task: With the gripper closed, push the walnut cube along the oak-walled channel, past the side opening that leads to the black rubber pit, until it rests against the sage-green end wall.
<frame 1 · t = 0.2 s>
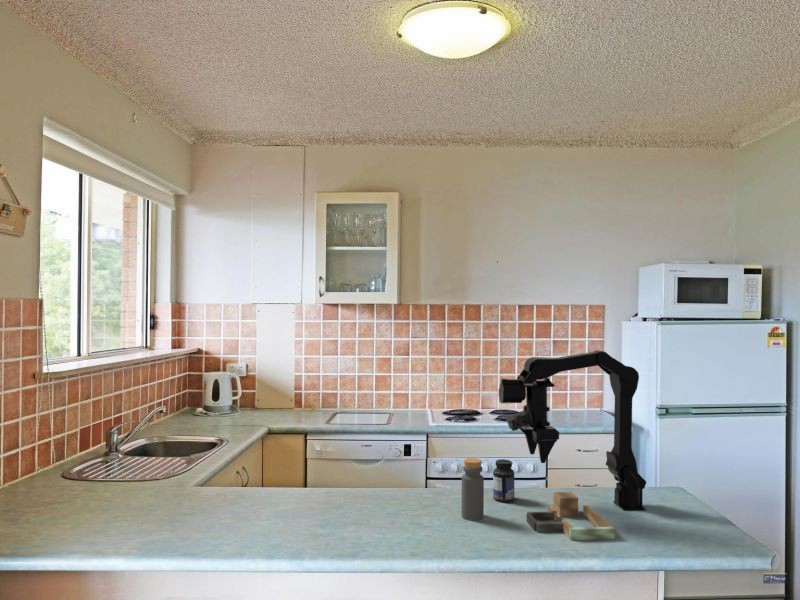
hand: (537, 458, 159), 14 cm above the counter, fingers open, 9 cm apart
bottle: (472, 517, 152), on the counter
pill bottle: (503, 499, 166), on the counter
walnut block: (565, 513, 155), on the counter
channel: (578, 525, 146), on the counter
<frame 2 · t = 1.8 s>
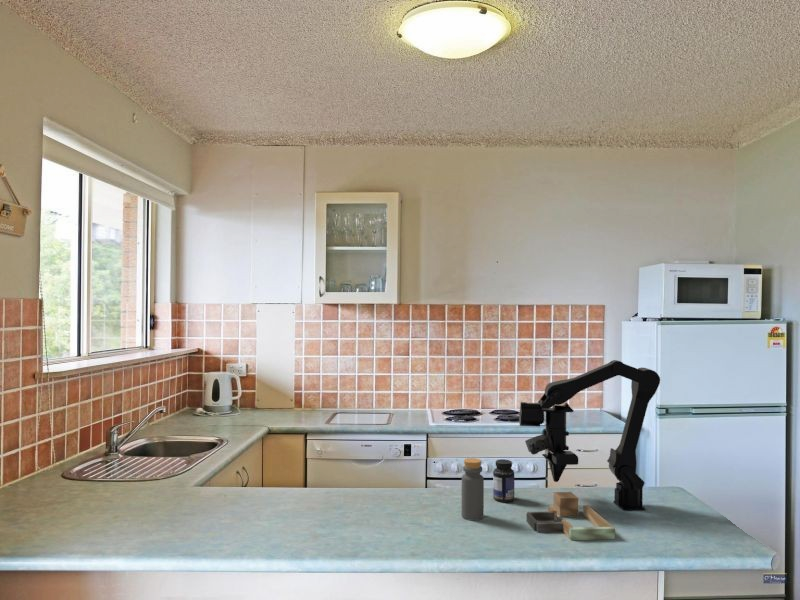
hand: (555, 481, 163), 6 cm above the counter, fingers closed
nothing on the counter moved.
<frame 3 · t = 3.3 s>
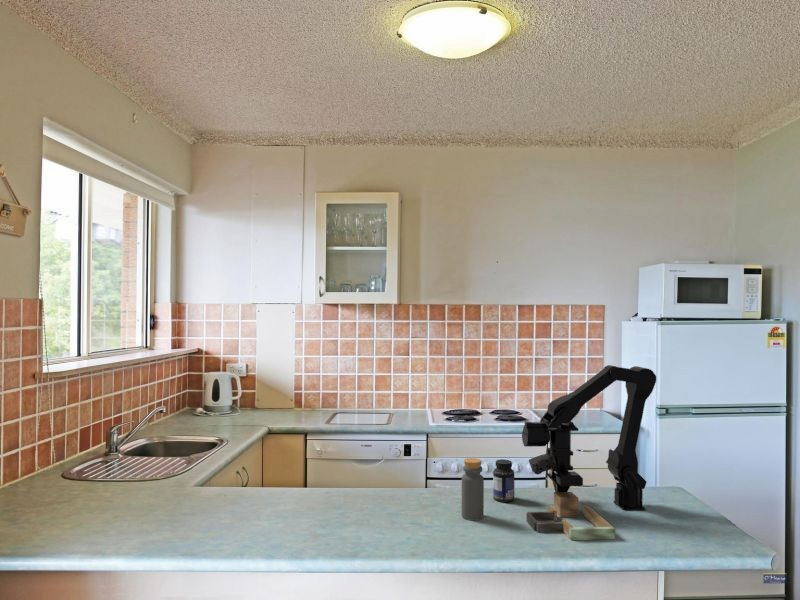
hand: (559, 501, 159), 2 cm above the counter, fingers closed
walnut block: (565, 513, 155), on the counter, touching gripper
everything else where it was.
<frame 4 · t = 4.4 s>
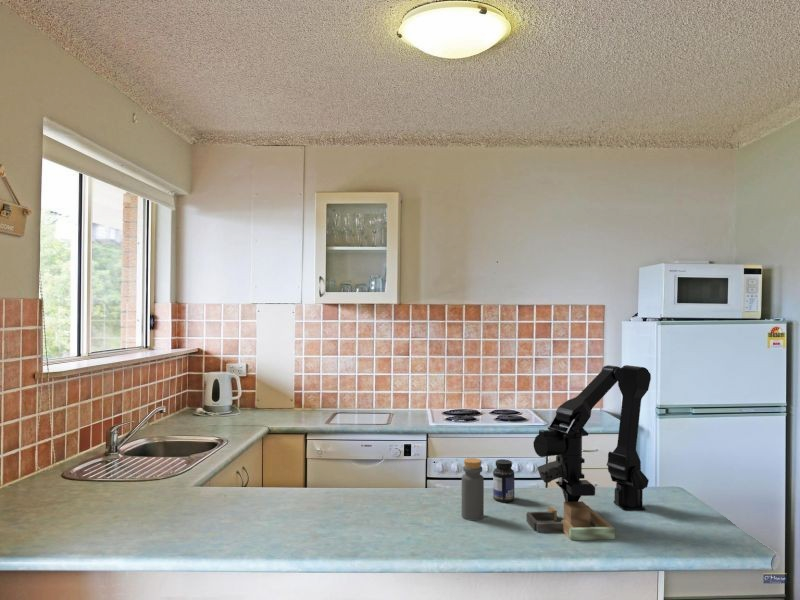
hand: (570, 511, 151), 2 cm above the counter, fingers closed
walnut block: (576, 524, 147), resting in channel, touching gripper
everything else where it was.
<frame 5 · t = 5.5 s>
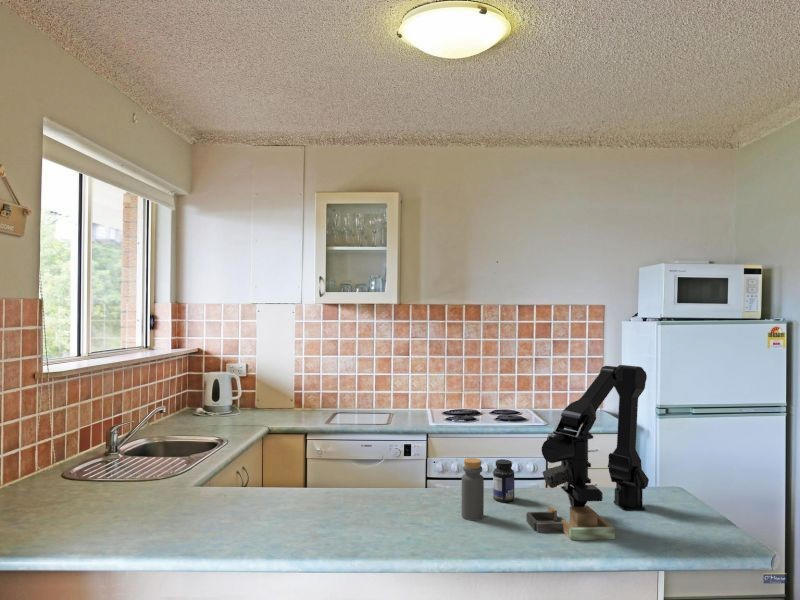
hand: (576, 517, 147), 2 cm above the counter, fingers closed
walnut block: (583, 530, 143), resting in channel, touching gripper
everything else where it was.
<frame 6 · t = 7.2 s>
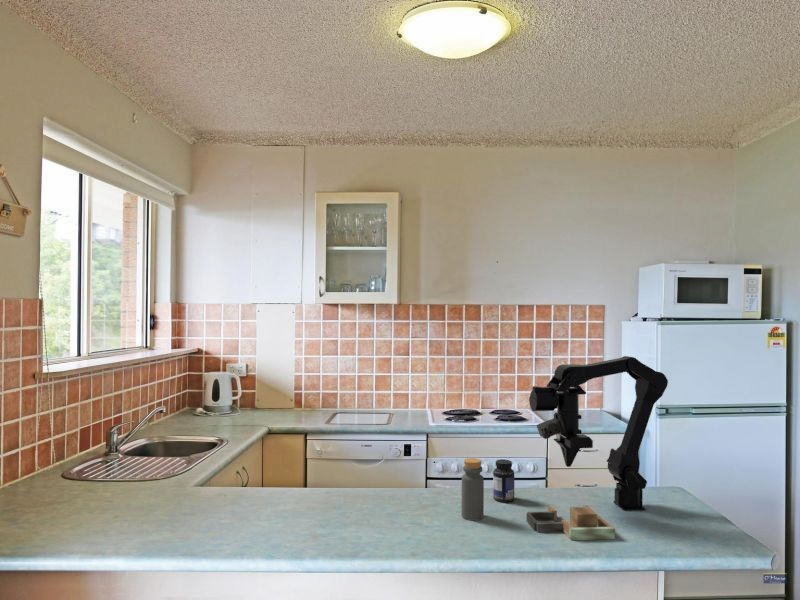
hand: (568, 466, 158), 12 cm above the counter, fingers closed
walnut block: (583, 530, 143), resting in channel
everything else where it was.
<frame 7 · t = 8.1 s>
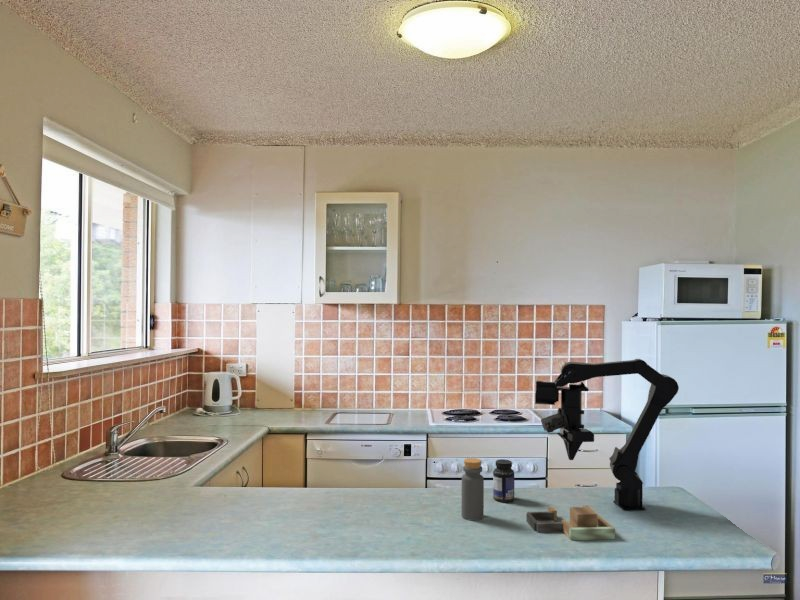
hand: (570, 459, 164), 12 cm above the counter, fingers closed
nothing on the counter moved.
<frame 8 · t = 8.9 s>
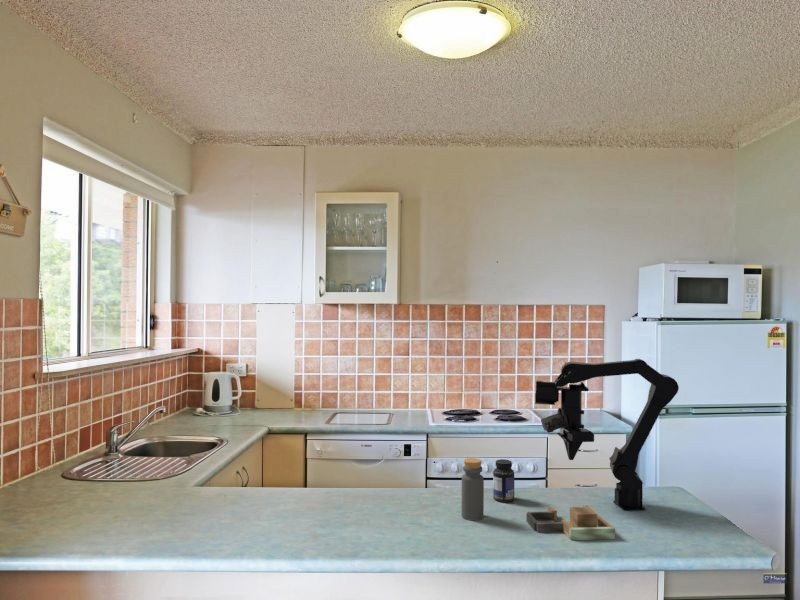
hand: (570, 459, 164), 12 cm above the counter, fingers closed
nothing on the counter moved.
at the end: walnut block inside the target area (1.2 cm from its centre), resting in channel; walnut block tilted 0° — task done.
